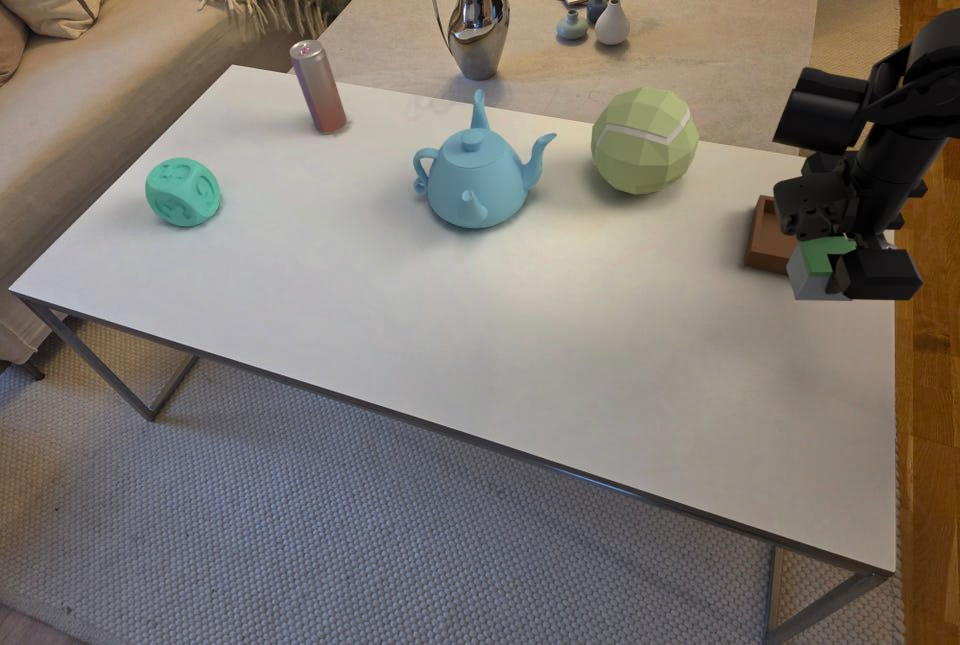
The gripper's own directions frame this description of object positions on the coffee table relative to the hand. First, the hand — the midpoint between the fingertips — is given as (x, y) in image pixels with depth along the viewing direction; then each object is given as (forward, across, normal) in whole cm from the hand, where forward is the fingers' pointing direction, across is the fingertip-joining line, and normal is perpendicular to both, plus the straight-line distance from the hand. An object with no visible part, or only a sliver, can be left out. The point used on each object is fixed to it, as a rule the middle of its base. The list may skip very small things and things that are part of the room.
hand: (823, 274), depth 66 cm
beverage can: (+12, -45, -72) cm, 86 cm away
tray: (+12, -15, +4) cm, 19 cm away
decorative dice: (+12, -22, -90) cm, 94 cm away
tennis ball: (+12, -29, -17) cm, 36 cm away
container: (+2, 0, 0) cm, 2 cm away
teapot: (+12, -25, -41) cm, 49 cm away
